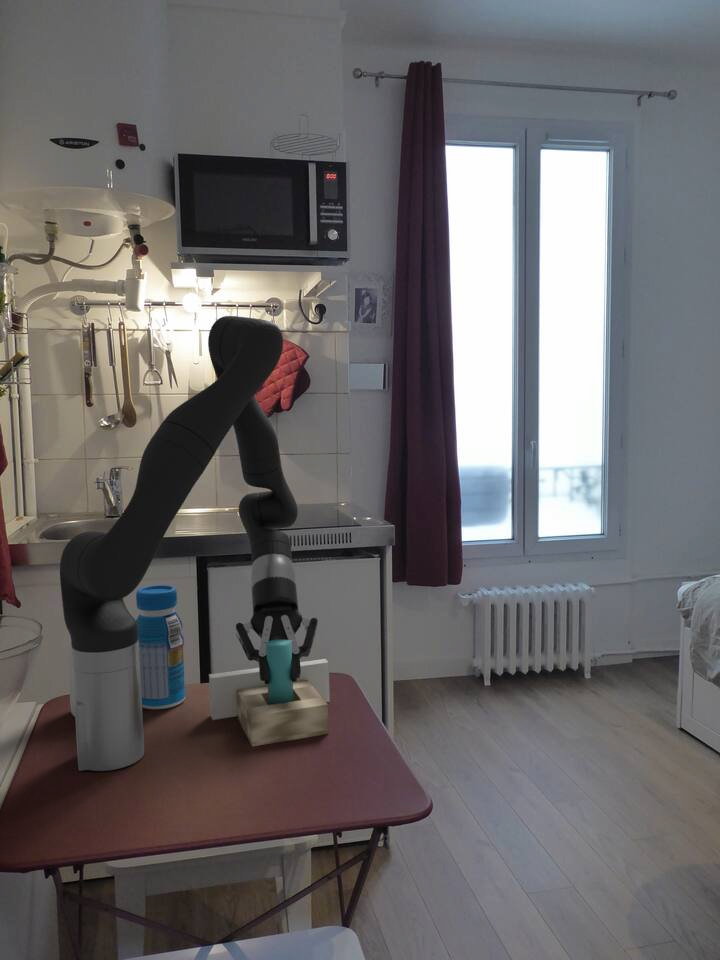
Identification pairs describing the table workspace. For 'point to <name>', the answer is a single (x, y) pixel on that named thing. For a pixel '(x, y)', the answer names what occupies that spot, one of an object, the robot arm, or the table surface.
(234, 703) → the backstop wall
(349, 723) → the table surface
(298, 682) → the socket block
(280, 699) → the teal rounded cylinder
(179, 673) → the beverage bottle
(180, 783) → the table surface
